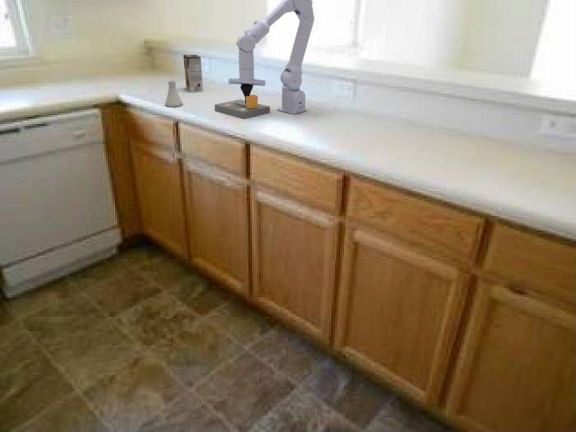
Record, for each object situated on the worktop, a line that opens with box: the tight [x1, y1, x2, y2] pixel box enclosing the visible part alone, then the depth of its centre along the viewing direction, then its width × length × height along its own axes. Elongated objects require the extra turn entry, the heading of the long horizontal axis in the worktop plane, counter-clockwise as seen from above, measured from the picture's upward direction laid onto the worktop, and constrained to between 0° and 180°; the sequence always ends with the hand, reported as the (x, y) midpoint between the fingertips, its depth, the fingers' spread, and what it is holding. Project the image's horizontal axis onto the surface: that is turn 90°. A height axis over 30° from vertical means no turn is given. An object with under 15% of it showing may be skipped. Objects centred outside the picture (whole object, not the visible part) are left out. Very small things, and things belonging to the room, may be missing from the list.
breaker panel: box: [214, 98, 271, 120], centre depth 182 cm, size 18×14×3 cm
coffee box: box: [183, 54, 204, 93], centre depth 215 cm, size 9×6×16 cm
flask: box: [164, 80, 184, 108], centre depth 188 cm, size 7×7×10 cm
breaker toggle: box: [246, 94, 259, 109], centre depth 177 cm, size 2×4×4 cm, turn 136°
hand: (247, 103), depth 179 cm, fingers closed
